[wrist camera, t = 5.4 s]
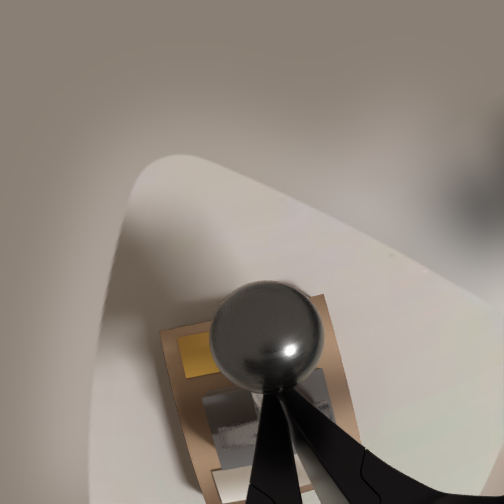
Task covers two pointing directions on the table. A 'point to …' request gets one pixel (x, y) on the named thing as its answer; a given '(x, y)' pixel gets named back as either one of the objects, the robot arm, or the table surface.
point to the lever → (265, 347)
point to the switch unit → (240, 406)
